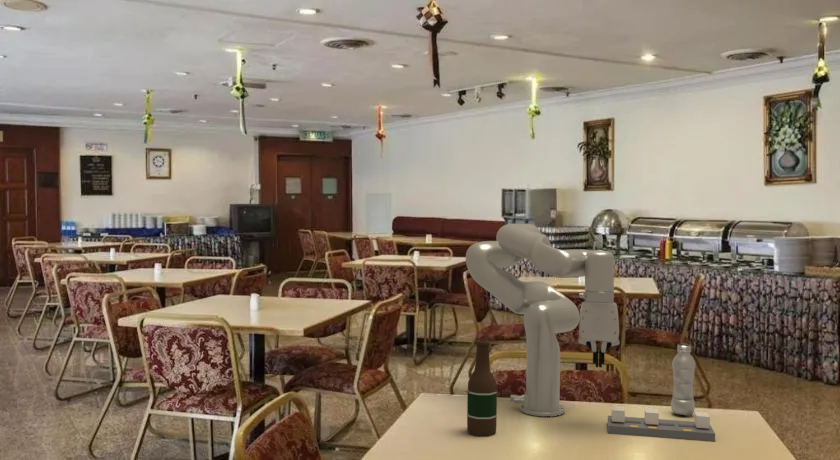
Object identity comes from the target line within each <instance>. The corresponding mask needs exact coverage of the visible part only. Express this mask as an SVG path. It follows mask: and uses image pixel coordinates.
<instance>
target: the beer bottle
mask: <svg viewBox="0 0 840 460" xmlns="http://www.w3.org/2000/svg"><path fill="white" fill-rule="evenodd" d="M475 345H476V351H475V365H474V370H473V372H472V373H471V374H470V377H469V378H468V381H467V399H466V400H467V402H466V403H467V408H466V409H467V411H466V412H467V413H466V426H467V427H466V428H467V431H468V433H469V435H472V436H474V437H491V436H494V435H496V433H497V417H498V416H497V415H498V414H497V410H498V409H497V407H498V398H497V397H498V390H497V389H498V388H497V381H496V379H495V377H494V375H493V373H492V372H491V371H492V370H491V366H490V365H491V364H490V345H491V343H490V340H488V339H484V338H481V339H477V340H476V341H475Z"/></svg>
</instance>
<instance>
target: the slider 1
mask: <svg viewBox="0 0 840 460" xmlns="http://www.w3.org/2000/svg"><path fill="white" fill-rule="evenodd" d="M625 412H626V411H625V406H619V405H617V406H616V405H611V415H610V416H611V417H612V421H613V422H625V417H626V416H625V414H626V413H625Z"/></svg>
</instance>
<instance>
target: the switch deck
mask: <svg viewBox="0 0 840 460" xmlns="http://www.w3.org/2000/svg"><path fill="white" fill-rule="evenodd" d="M607 432H608V434H614V435H625V436H638V437H639V436H640V437H650V438H652V437H653V438H666V439H677V440H690V441H691V440H693V441H703V442H704V441H706V442H716V433H715V431H714V429H713V427H712V425H711V424H710V429H708V428H696V426H695V424H694V421H690V420H689V421H688V420H677V419H674V420H673V419H664V418H660V419H659V424H658V425H654V424H646V423H645V420H644V417H633V416H625V422H613V421H612V417H611V415H607Z"/></svg>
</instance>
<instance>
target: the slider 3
mask: <svg viewBox="0 0 840 460" xmlns="http://www.w3.org/2000/svg"><path fill="white" fill-rule="evenodd" d="M693 419H694V420H693V422H694V424H695V426H696V428H708V429H710V425H711V424H710V423H711V416H710V415H709V412H706V411H705V412H704V411H694V412H693Z"/></svg>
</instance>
